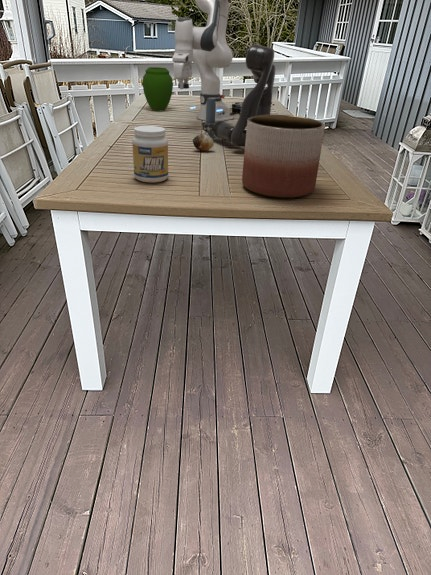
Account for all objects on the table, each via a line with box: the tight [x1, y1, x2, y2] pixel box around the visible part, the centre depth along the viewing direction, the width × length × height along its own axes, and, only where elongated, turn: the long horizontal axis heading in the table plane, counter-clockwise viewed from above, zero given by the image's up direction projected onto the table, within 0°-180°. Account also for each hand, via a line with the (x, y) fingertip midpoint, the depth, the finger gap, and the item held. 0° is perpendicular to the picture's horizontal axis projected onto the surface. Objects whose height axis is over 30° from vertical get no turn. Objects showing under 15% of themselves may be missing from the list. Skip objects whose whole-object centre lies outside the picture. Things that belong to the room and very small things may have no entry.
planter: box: [241, 114, 326, 199], centre depth 138 cm, size 25×25×22 cm
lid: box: [177, 82, 190, 90], centre depth 206 cm, size 6×6×2 cm
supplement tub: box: [131, 125, 169, 183], centre depth 142 cm, size 12×12×17 cm
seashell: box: [192, 131, 215, 152], centre depth 181 cm, size 10×6×8 cm, turn 97°
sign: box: [231, 101, 243, 115], centre depth 282 cm, size 19×3×30 cm
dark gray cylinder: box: [204, 98, 216, 139], centre depth 202 cm, size 5×5×18 cm
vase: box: [141, 66, 174, 112], centre depth 261 cm, size 20×20×24 cm
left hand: (183, 88), depth 206 cm, fingers closed on lid, 5 cm apart
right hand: (207, 123), depth 206 cm, fingers closed on dark gray cylinder, 4 cm apart
